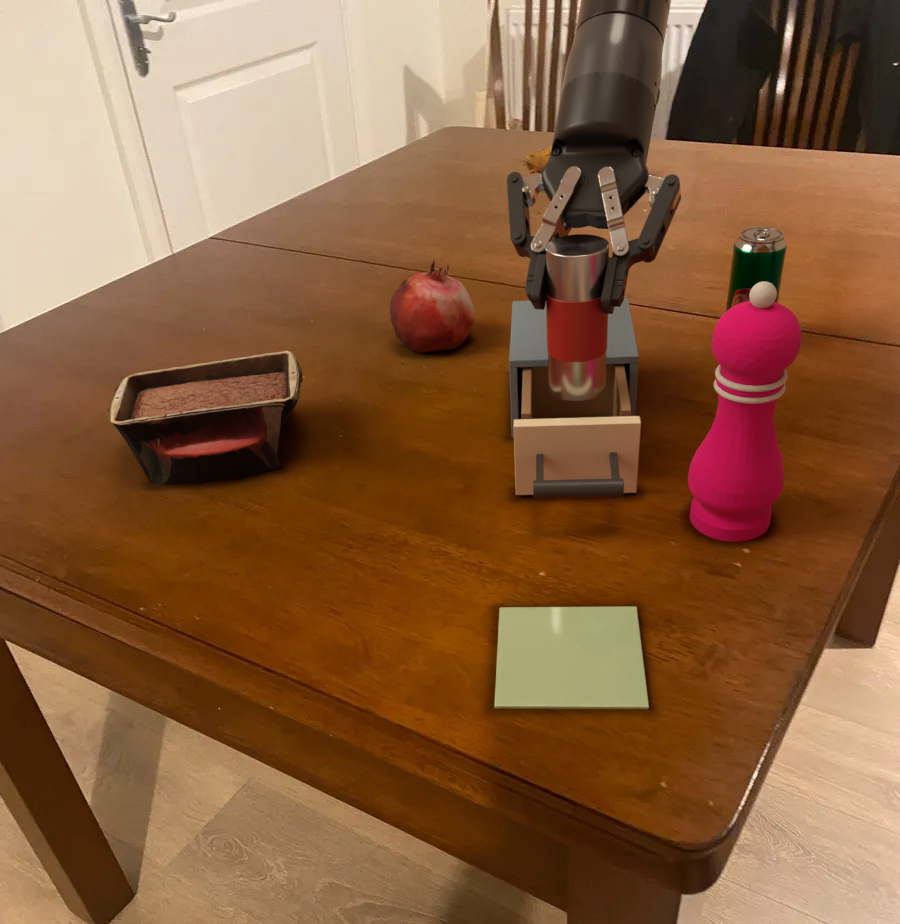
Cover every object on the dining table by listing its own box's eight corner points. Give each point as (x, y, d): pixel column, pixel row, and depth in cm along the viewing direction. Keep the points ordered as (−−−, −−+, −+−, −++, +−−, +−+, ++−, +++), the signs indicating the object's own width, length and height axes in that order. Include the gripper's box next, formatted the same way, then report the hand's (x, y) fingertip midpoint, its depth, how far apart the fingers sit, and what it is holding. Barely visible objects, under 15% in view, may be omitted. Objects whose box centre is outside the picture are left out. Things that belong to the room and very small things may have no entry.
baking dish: (163, 438, 97) (118, 356, 90) (325, 398, 95) (292, 311, 88) (142, 525, 86) (89, 439, 79) (323, 482, 85) (286, 390, 78)
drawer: (641, 531, 73) (647, 459, 69) (514, 533, 74) (511, 462, 70) (626, 420, 87) (629, 354, 83) (518, 423, 88) (516, 358, 84)
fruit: (377, 349, 105) (366, 262, 99) (441, 322, 109) (434, 237, 103) (427, 373, 99) (418, 282, 93) (492, 344, 104) (488, 256, 97)
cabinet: (633, 439, 86) (639, 356, 80) (511, 443, 87) (509, 360, 82) (623, 374, 96) (628, 295, 91) (514, 377, 97) (512, 300, 92)
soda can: (720, 357, 97) (735, 242, 90) (721, 336, 101) (735, 225, 93) (770, 358, 96) (789, 242, 88) (770, 338, 100) (787, 225, 92)
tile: (636, 614, 67) (636, 605, 67) (648, 715, 60) (649, 706, 59) (499, 614, 68) (499, 606, 68) (494, 714, 61) (494, 706, 60)
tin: (604, 373, 79) (608, 231, 72) (607, 400, 76) (611, 254, 68) (547, 375, 80) (545, 235, 72) (548, 402, 76) (545, 258, 68)
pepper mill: (665, 527, 75) (688, 287, 62) (715, 489, 79) (746, 255, 66) (743, 562, 71) (785, 312, 58) (792, 520, 74) (842, 277, 62)
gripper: (510, 69, 71) (471, 283, 70) (700, 65, 66) (661, 293, 66) (530, 126, 78) (495, 321, 77) (703, 126, 73) (668, 332, 73)
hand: (572, 307), depth 71 cm, fingers closed on tin, 5 cm apart
